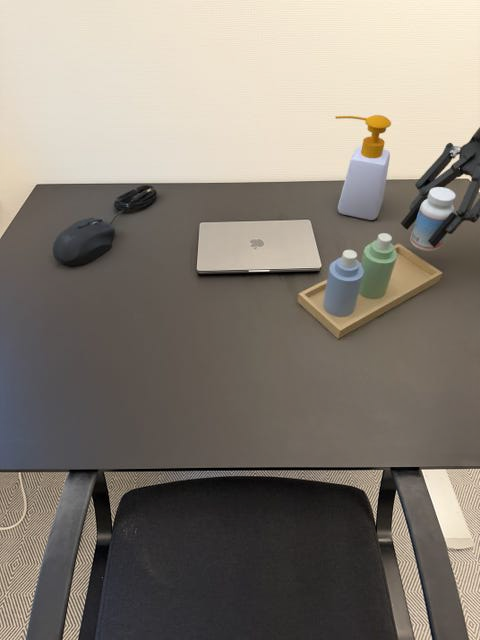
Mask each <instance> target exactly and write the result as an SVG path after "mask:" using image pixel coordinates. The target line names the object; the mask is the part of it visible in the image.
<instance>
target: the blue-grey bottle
mask: <svg viewBox="0 0 480 640" xmlns="http://www.w3.org/2000/svg"><path fill="white" fill-rule="evenodd" d="M357 258H358V253H357V252H356V251H355V250H353V249H345V250H344V251H342V255H341V256H340V257H338V258H337V259H336V260H334V261H332V262H331V263H330V264H329V268H328V272H327V278H326V280H327V284H326V289H325V295H324V300H323V307H324V309H325V310H326V311H327V312H328V313H329V314H331V315H333V316H337V317H345V316H348V315H350V314H352V313H353V311H354V309H355V305H356V301H357V297H358V293H359V289H360V286H361V282H362V278H363V274H364V270H363V268H362V266H361V265H360V264H359V263H360V261H359V260H358V259H357Z"/></svg>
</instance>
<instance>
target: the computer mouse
mask: <svg viewBox="0 0 480 640" xmlns="http://www.w3.org/2000/svg"><path fill="white" fill-rule="evenodd" d="M157 195H158V192H157V190H156V188H155V187H154V186H153V185H150V184H144V185H143V184H142V185H140V186H138V187H136V188H134V189H131V190H128V191H126V192H124V193H123V194H121V195H118V196H117V197H116V198H115V199H114V202H113V208H115V210H116V211H117V213H116V214H115V215H114V216H113V218H112V219H111V220H110V222H108V221H103V219H102V218H96V217H89V218H85V219H81V220H77V221H76V222H74V223H72V224H71V225H69V226H68V227H66V228H65V229H64V230H62V231H60V233H59V234H57V236H56V238H55V240H54V242H53V245H52V253H53V254H52V255H53V257H54V258H55V260H56V261H57V262H59V263H61V264H63V265H67V266H81V265H84V264H85V265H86V264H88V263H90V262H93V261H94V260H96V259H97V258H99V257H100V256H102V255H103V254H105V253H106V252H107V251H108V250H109V249H110V248H111V247H112V246H113V240H114V238H115V231H116V229H115V227H114V226H113V225H111V224H112V223H113V222H114V221H115V219H117V217H118V216H119V215H121V214H122V213H124V212H126V211H131V210H135V209H136V210H137V209H140V208H145V207H147V206H148V205H150V204H152V203H153V202H154V203H155V201H156V199H157Z"/></svg>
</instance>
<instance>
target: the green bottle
mask: <svg viewBox="0 0 480 640" xmlns="http://www.w3.org/2000/svg"><path fill="white" fill-rule="evenodd" d="M392 239H393V237H392V236H391V234H389V233H386V232H381V233H379V234H378V235H377V239H375V240H373V241H372V242H371V243H369V244H367V245H366V246H365V247H364V248H363V253H362V257H361V260H360V261H361V262H360V263H361V266H362V268H363V270H364V274H363V278H362V282H361V286H360V289H359V294H360V295H362V296H363V297H366V298H370V299H378V298H381V297H383V296H384V295H385V294H386V291H387V288H388V284H389V281H390V278H391V275H392V272H393V268H394V265H395V262H396V259H397V252H396V250H395V249H394V246H395V245H394V244H393V243H392Z"/></svg>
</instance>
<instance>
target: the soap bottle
mask: <svg viewBox="0 0 480 640" xmlns="http://www.w3.org/2000/svg"><path fill="white" fill-rule="evenodd" d="M334 117H335V119H337V120H338V119H353V120H359V121H360V120H362V121H364V123H365V125H366V126H367V129H366V130H367V131H368V132H369V133H371V135H370V136H366V137H364V138H363V140H362V145H358V146H357V147H356V148H355V150H354V151H353V154H352V156H351V157H350V158H351V159H350V160H349V163H348V168H347V171H346V175H345V178H344V182H343V185H342V190H341V193H340V197H339V200H338V204H337V211H338V213H339V214H341V215H344V216H350V217H354V218H359V219H364V220H368V221H375V220H376V219H377V218H378V216H379V214H380V211H381V208H382V205H383V202H384V197H385V190H386V183H387V177H388V172H389V166H390V159H391V153H390V150H388V149H385V144H386V142H385V140H384V139H383V138H381V137H380V134H385V132H386V130H387V128H390V127H391V126H392V121H391V120H390V119H389V118H387V116H384V115H381V114H373V115H371V116H367V117H363V116H355V115H337V116H336V115H335V116H334Z"/></svg>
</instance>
